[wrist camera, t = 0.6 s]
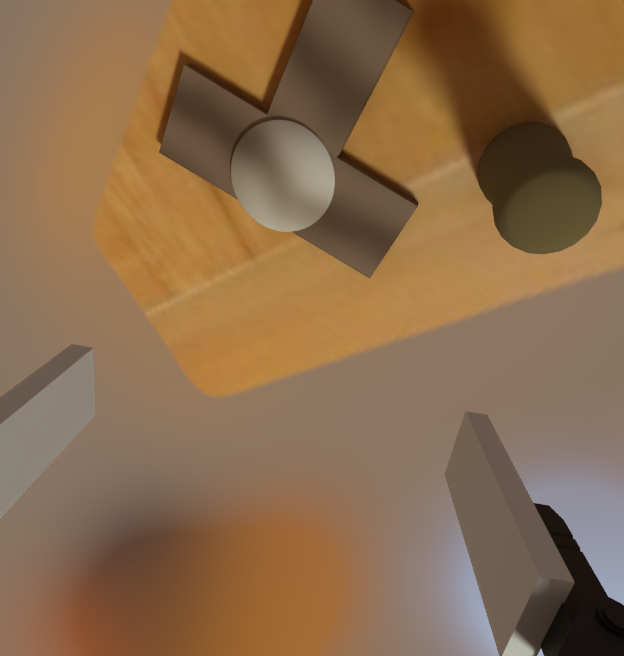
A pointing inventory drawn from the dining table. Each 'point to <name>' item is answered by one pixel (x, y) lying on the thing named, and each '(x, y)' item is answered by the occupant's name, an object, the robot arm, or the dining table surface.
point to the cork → (538, 189)
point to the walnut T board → (302, 135)
